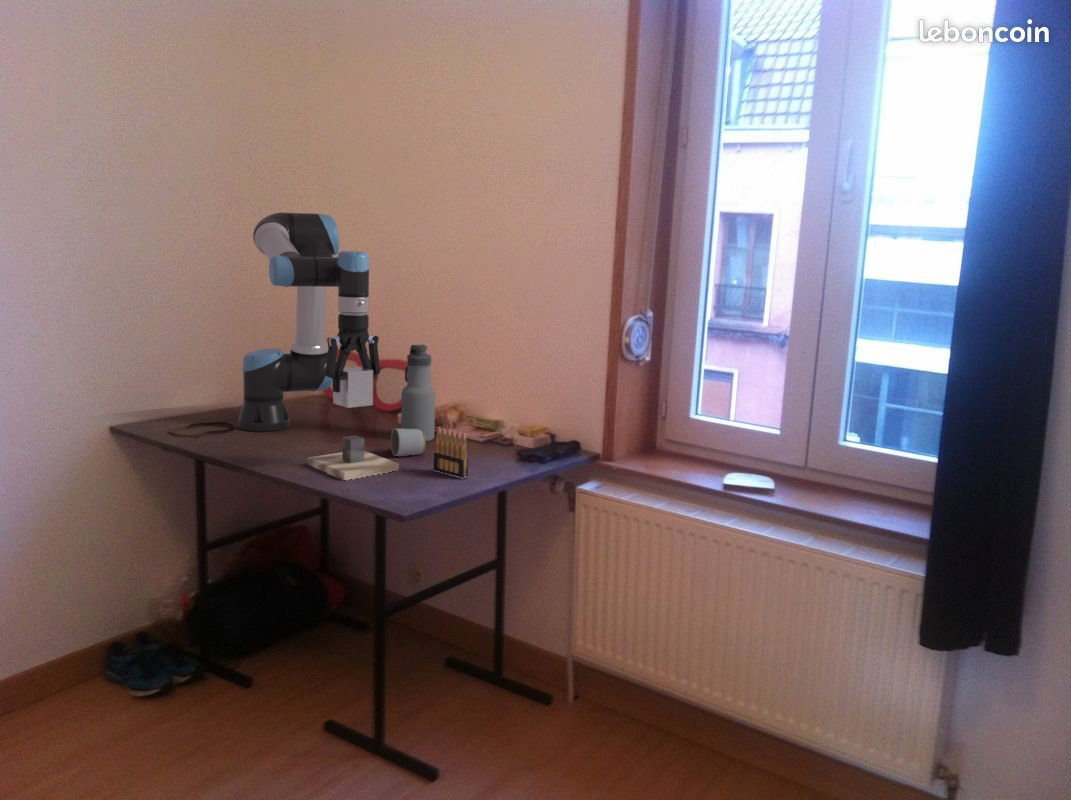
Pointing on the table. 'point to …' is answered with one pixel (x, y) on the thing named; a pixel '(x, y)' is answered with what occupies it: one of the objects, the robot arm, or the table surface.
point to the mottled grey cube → (357, 387)
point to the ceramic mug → (407, 442)
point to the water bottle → (418, 393)
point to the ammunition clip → (451, 453)
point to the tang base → (352, 468)
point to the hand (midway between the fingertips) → (353, 403)
